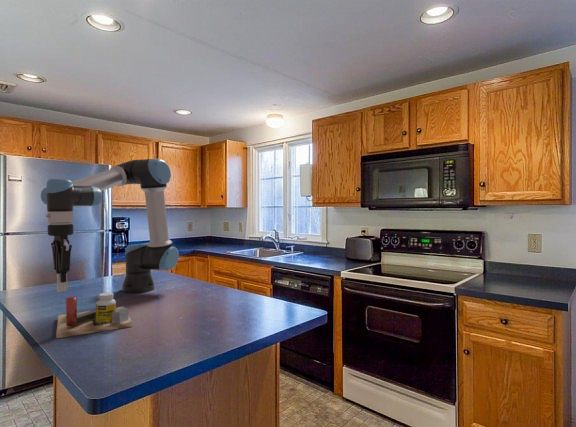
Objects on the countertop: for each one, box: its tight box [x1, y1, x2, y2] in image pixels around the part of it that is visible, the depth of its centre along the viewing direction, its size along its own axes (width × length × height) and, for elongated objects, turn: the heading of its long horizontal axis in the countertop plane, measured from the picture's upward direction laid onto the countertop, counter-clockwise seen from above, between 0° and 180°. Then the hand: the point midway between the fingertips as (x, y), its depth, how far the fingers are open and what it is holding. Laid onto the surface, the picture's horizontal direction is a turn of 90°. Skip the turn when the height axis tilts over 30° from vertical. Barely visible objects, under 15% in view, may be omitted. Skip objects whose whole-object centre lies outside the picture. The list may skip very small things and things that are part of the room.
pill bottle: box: [95, 292, 117, 326], centre depth 124 cm, size 6×6×11 cm
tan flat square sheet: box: [55, 306, 133, 339], centre depth 126 cm, size 22×22×2 cm
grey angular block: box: [112, 307, 130, 329], centre depth 123 cm, size 5×3×6 cm, turn 172°
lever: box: [65, 296, 96, 326], centre depth 124 cm, size 16×4×9 cm, turn 162°
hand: (62, 291), depth 123 cm, fingers closed
